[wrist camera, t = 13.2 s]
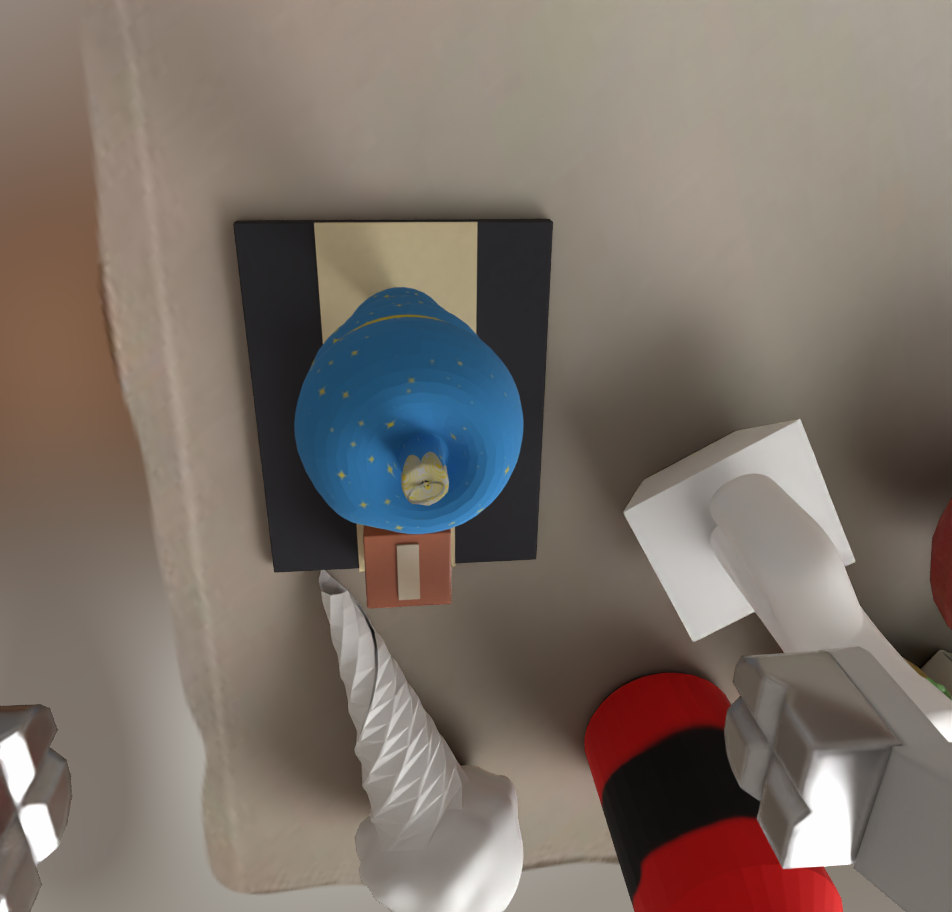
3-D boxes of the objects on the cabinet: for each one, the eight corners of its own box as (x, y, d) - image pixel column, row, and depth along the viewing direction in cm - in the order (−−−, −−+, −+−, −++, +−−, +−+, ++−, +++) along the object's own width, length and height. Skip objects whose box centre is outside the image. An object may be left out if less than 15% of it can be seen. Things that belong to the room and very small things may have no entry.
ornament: (303, 259, 27) (222, 426, 13) (443, 209, 27) (506, 326, 13) (359, 392, 29) (338, 650, 15) (489, 346, 29) (583, 567, 15)
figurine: (747, 363, 31) (1029, 568, 17) (817, 535, 35) (1093, 812, 21) (587, 449, 32) (737, 708, 18) (673, 608, 36) (849, 919, 22)
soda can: (571, 688, 37) (649, 931, 26) (724, 651, 37) (865, 879, 26) (593, 796, 40) (670, 1053, 30) (733, 763, 40) (861, 1006, 30)
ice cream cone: (329, 604, 28) (493, 1008, 31) (444, 517, 34) (570, 859, 37) (199, 617, 32) (355, 971, 35) (323, 538, 38) (446, 843, 41)
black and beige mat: (235, 220, 27) (232, 223, 26) (550, 218, 28) (553, 221, 27) (276, 567, 33) (274, 576, 32) (533, 554, 34) (536, 562, 33)
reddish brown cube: (364, 495, 31) (363, 537, 28) (445, 491, 31) (451, 533, 28) (368, 563, 32) (367, 610, 29) (445, 559, 32) (451, 606, 29)
